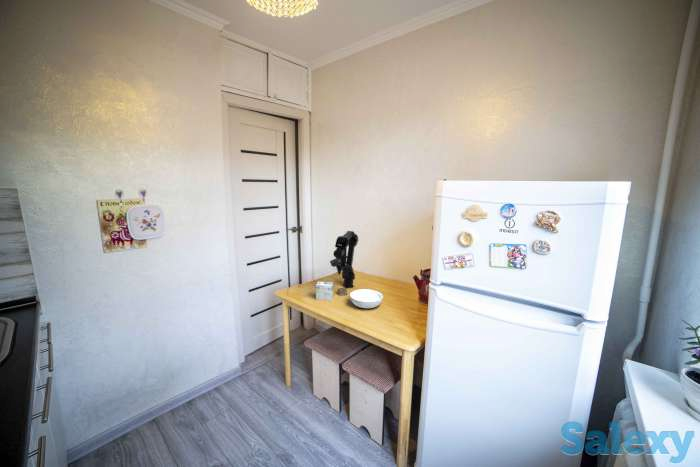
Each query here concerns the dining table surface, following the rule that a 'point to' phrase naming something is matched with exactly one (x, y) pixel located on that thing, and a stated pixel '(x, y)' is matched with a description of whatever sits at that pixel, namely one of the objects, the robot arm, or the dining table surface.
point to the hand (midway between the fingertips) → (342, 276)
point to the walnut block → (342, 291)
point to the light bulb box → (324, 290)
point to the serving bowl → (366, 298)
